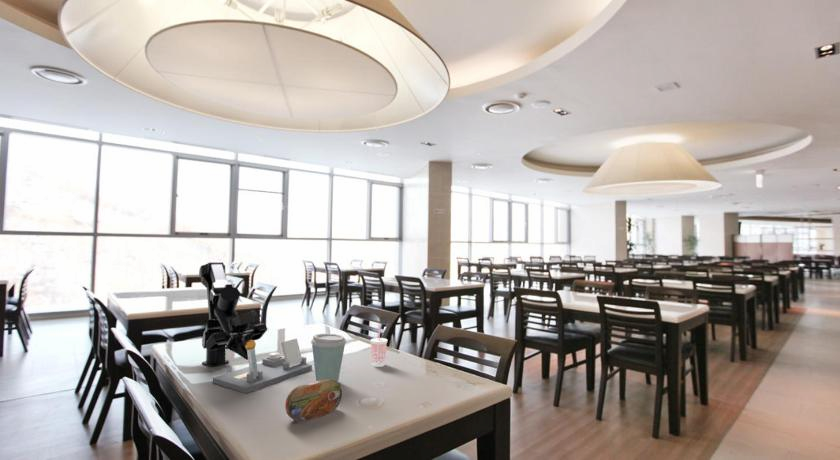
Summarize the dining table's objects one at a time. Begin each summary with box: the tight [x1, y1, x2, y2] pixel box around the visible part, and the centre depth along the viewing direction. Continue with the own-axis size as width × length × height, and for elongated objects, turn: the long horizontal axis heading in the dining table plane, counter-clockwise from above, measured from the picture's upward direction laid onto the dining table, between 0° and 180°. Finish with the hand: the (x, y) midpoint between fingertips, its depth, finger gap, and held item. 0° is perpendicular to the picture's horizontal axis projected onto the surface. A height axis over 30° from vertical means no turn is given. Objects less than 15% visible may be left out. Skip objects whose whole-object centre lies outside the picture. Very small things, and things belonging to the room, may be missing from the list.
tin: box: [284, 379, 343, 423], centre depth 103 cm, size 15×3×8 cm, turn 134°
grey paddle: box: [280, 338, 303, 365], centre depth 139 cm, size 1×6×8 cm, turn 150°
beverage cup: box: [370, 325, 388, 368], centre depth 146 cm, size 6×6×14 cm
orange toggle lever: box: [245, 340, 258, 377], centre depth 125 cm, size 3×3×11 cm
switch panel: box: [212, 355, 313, 394], centre depth 132 cm, size 16×26×4 cm, turn 150°
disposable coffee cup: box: [310, 333, 347, 383], centre depth 126 cm, size 11×11×15 cm
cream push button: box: [268, 352, 281, 361], centre depth 140 cm, size 4×4×2 cm
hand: (249, 358), depth 125 cm, fingers closed, pressing on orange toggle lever
